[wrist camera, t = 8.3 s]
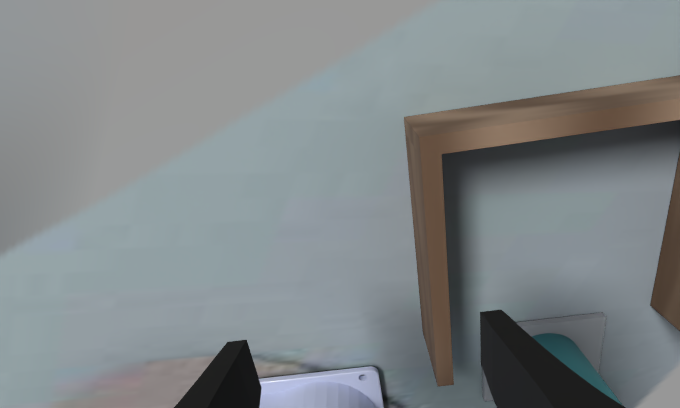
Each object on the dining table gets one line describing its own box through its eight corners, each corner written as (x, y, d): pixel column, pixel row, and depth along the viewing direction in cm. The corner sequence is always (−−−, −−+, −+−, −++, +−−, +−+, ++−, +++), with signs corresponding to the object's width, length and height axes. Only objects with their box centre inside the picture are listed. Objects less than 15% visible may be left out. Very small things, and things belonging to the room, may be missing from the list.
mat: (482, 396, 26) (484, 401, 25) (481, 326, 23) (483, 330, 23) (592, 384, 25) (596, 389, 25) (602, 312, 23) (606, 316, 23)
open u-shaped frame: (422, 331, 24) (437, 386, 20) (403, 117, 19) (419, 136, 15) (664, 303, 23) (727, 355, 19) (713, 70, 18) (811, 78, 14)
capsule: (505, 391, 25) (557, 503, 19) (506, 337, 23) (563, 442, 17) (576, 384, 25) (651, 494, 19) (582, 329, 23) (667, 432, 17)
